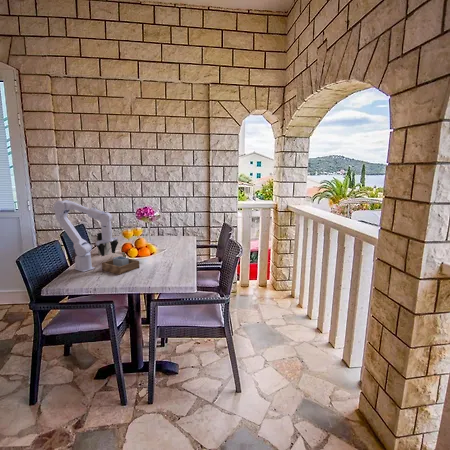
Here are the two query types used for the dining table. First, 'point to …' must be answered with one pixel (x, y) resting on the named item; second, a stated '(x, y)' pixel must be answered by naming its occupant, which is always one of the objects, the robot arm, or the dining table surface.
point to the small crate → (120, 261)
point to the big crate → (122, 269)
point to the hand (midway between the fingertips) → (108, 254)
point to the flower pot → (123, 252)
